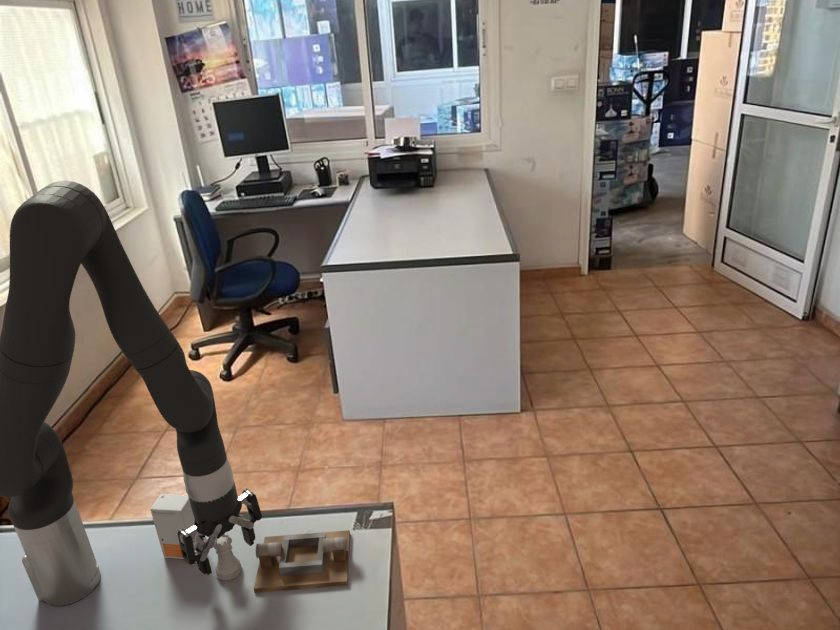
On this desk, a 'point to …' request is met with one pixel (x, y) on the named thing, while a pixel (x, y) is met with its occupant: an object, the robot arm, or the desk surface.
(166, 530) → the skincare box
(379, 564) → the desk surface
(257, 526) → the desk surface
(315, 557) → the frame on base plate
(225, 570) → the rook chess piece
